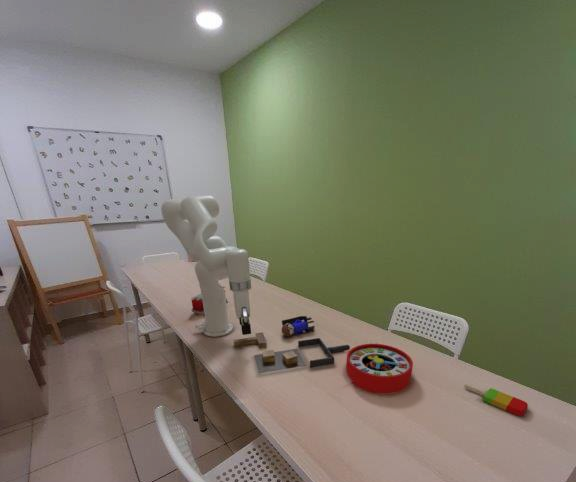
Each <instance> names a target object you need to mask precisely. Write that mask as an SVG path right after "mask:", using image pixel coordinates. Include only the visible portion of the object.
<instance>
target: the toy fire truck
mask: <svg viewBox="0 0 576 482" xmlns="http://www.w3.org/2000/svg"><path fill="white" fill-rule="evenodd" d="M222 287H223V288H224V289H225V288H226V286H222ZM190 300H191V306H192V308H191V313H195V314H197V315H205V314H204V307H203V301H202V295H201V293H199V294H197V295H195V296H193V297H190ZM228 303H229V301H228V299H227V298H226V304H228Z"/></svg>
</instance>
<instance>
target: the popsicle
mask: <svg viewBox="0 0 576 482" xmlns="http://www.w3.org/2000/svg"><path fill="white" fill-rule="evenodd" d="M463 387H464V388H467V389H469V390H472V391H474V392H476V393H478V394H481V395H483V396H482V398H481V399H482V402H485V403H487V404H489V405H492V406H494V407H497V408H499V409H501V410H504V411H506V412H507V413H508V412H509V413H511V414H513V415H516V416H520V417H522V416H523V415H525V413H526V411H527V409H528V406H529V405H528V403H527V401H525V400H524V399H523V400H522V399H520V398H518V397H516V396H512V395H510V394H507V393H506V392H505V393H504V392H502V391H499V390H497V389H494V388H489V389H488V390H487V391H486V392H485V391H483V390H481V389H478V388H475V387H473V386H471V385H468V384H464V385H463Z"/></svg>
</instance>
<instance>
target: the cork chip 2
mask: <svg viewBox="0 0 576 482" xmlns="http://www.w3.org/2000/svg"><path fill="white" fill-rule="evenodd" d="M282 360H283V361H284V362H285V363H286V364H287V365H290V364H293V363H296V362H298V356H297V355H296V354H295V353H294V352H293V351H290V352H286V353H283V354H282Z"/></svg>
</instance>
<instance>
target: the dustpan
mask: <svg viewBox="0 0 576 482" xmlns="http://www.w3.org/2000/svg"><path fill="white" fill-rule="evenodd" d="M297 344H298V345H297V347H298V348H302V347H310V346H317V345H319V347H320V348H321V349H322V351H323V353H324V354H325V355H326V357H324V358H318V359H311V360H309V368H317V367H323V366H328V365H334V364H335V356H334V355H333V353H340V352H345V351H350V350H351V346H350V344H343V345H337V346H330V347H329V346H328V347H327V345H326V344H325V343H324V342H323V340H322V339H321V338H320V337H315V338H310V339H302V340H297Z"/></svg>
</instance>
